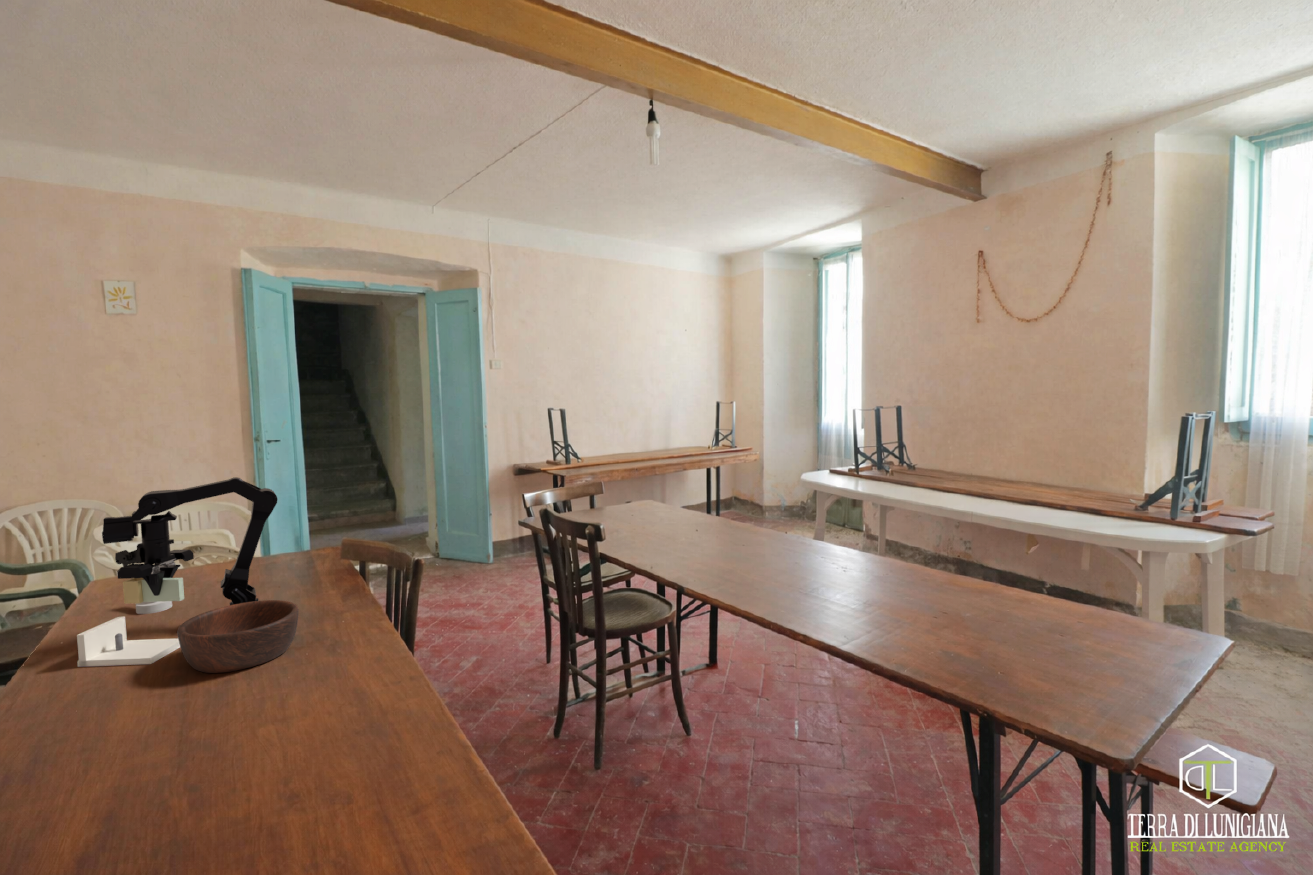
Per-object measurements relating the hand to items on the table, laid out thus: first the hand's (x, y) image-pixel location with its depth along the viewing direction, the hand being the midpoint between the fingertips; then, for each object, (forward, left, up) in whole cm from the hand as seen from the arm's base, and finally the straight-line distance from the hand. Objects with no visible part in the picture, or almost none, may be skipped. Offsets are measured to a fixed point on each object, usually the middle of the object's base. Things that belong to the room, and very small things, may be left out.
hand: (159, 594), depth 160 cm
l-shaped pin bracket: (-1, +11, -12) cm, 16 cm away
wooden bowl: (-30, +14, -12) cm, 35 cm away
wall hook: (+20, -24, -12) cm, 34 cm away
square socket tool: (+1, 0, -2) cm, 2 cm away
